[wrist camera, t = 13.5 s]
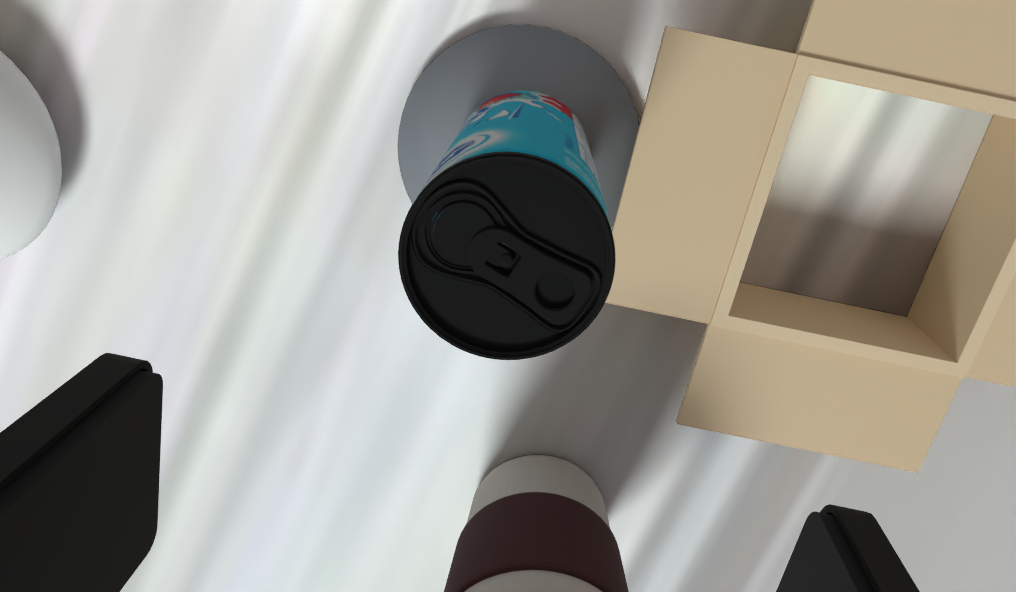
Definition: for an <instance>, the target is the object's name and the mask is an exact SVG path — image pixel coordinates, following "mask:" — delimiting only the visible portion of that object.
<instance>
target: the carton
mask: <svg viewBox="0 0 1016 592" xmlns="http://www.w3.org/2000/svg"><path fill="white" fill-rule="evenodd" d="M809 75H813V76H817V77H822V78H826V79H831V80H836V81H840V82H845V83H850V84H854V85H859V86H864V87H868V88H873V89H878V90H882V91H887V92H892V93H896V94H901V95H905V96H910V97H915V98H919V99H924V100H929V101H933V102H938V103H943V104H947V105H952V106H957V107H961V108H966V109H971V110H975V111H980V112H985V113H989V114H994V115H993V118H992V120H991V122H990V125H989V127H988V129H987V132H986V134H985V136H984V139H983V141H982V143H981V146H980V148H979V150H978V153H977V155H976V157H975V160H974V162H973V164H972V167H971V169H970V171H969V174H968V176H967V178H966V181H965V183H964V185H963V188H962V190H961V192H960V195H959V197H958V199H957V202H956V204H955V206H954V208H953V211H952V213H951V215H950V218H949V220H948V222H947V225H946V227H945V229H944V232H943V234H942V236H941V239H940V241H939V243H938V246H937V248H936V250H935V253H934V255H933V257H932V260H931V262H930V264H929V267H928V269H927V271H926V274H925V276H924V278H923V281H922V283H921V285H920V288H919V290H918V292H917V295H916V297H915V299H914V302H913V304H912V306H911V309H910V311H909V313H908V316H907V317H904V316H899V315H894V314H890V313H885V312H880V311H875V310H870V309H866V308H861V307H856V306H851V305H846V304H842V303H837V302H832V301H827V300H822V299H817V298H813V297H808V296H803V295H798V294H793V293H789V292H784V291H779V290H774V289H769V288H765V287H760V286H755V285H750V284H745V283H740V279H741V276H742V273H743V270H744V267H745V264H746V261H747V258H748V255H749V252H750V249H751V246H752V243H753V240H754V237H755V234H756V231H757V228H758V225H759V222H760V219H761V216H762V213H763V210H764V207H765V204H766V201H767V198H768V195H769V192H770V189H771V186H772V183H773V180H774V177H775V174H776V171H777V168H778V165H779V162H780V159H781V156H782V153H783V150H784V147H785V144H786V141H787V138H788V135H789V132H790V129H791V126H792V124H793V121H794V118H795V115H796V112H797V109H798V106H799V103H800V100H801V97H802V94H803V91H804V88H805V85H806V82H807V79H808V76H809ZM612 234H613V239H614V244H615V258H616V263H615V273H614V278H613V283H612V286H611V290H610V292H609V295H608V297H607V300H606V302H605V303H609V304H614V305H619V306H623V307H628V308H633V309H638V310H643V311H648V312H653V313H657V314H662V315H667V316H672V317H677V318H682V319H687V320H691V321H696V322H701V323H706V324H707V326H706V329H705V332H704V336H703V339H702V342H701V345H700V348H699V351H698V354H697V357H696V360H695V363H694V366H693V369H692V372H691V376H690V379H689V382H688V385H687V388H686V391H685V394H684V397H683V400H682V403H681V406H680V409H679V412H678V416H677V419H676V423H677V424H680V425H685V426H690V427H695V428H699V429H704V430H709V431H714V432H719V433H724V434H729V435H734V436H739V437H744V438H749V439H754V440H759V441H764V442H769V443H774V444H778V445H783V446H788V447H793V448H798V449H803V450H808V451H813V452H818V453H823V454H828V455H833V456H838V457H843V458H848V459H852V460H857V461H862V462H867V463H872V464H877V465H882V466H887V467H892V468H897V469H902V470H907V471H912V472H917V473H918V471H919V469H920V467H921V465H922V463H923V461H924V459H925V457H926V454H927V452H928V450H929V448H930V446H931V444H932V442H933V440H934V438H935V435H936V433H937V431H938V429H939V427H940V425H941V423H942V421H943V419H944V416H945V414H946V412H947V410H948V408H949V406H950V404H951V402H952V400H953V398H954V395H955V393H956V391H957V389H958V387H959V385H960V383H961V381H962V379H963V378H966V377H968V378H973V379H978V380H982V381H987V382H992V383H997V384H1002V385H1007V386H1012V387H1016V0H812V3H811V6H810V10H809V13H808V16H807V19H806V22H805V25H804V28H803V31H802V34H801V37H800V40H799V43H798V46H797V50H796V53H793V52H788V51H784V50H779V49H775V48H770V47H765V46H764V47H760V46H756V45H751V44H746V43H742V42H737V41H733V40H728V39H723V38H719V37H714V36H709V35H705V34H700V33H695V32H691V31H686V30H682V29H677V28H672V27H668V26H665V29H664V33H663V37H662V41H661V45H660V48H659V52H658V56H657V60H656V64H655V68H654V71H653V75H652V79H651V83H650V87H649V91H648V94H647V98H646V102H645V106H644V110H643V114H642V117H641V121H640V125H639V129H638V133H637V136H636V140H635V144H634V148H633V152H632V156H631V159H630V163H629V167H628V171H627V175H626V179H625V182H624V186H623V190H622V194H621V198H620V201H619V205H618V209H617V213H616V217H615V221H614V224H613V228H612Z"/></svg>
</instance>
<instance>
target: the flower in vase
mask: <svg viewBox="0 0 1016 592" xmlns="http://www.w3.org/2000/svg"><path fill="white" fill-rule="evenodd" d="M61 179H62V165H61V152H60V146H59V141H58V137H57V134H56V131H55V128H54V124H53V122H52V119H51V117H50V115H49V113H48V110H47V108H46V106H45V104H44V103H43V101H42V99H41V97H40V96H39V94H38V92H37V91H36V90H35V88H34V87H33V86H32V84H31V83H30V81H29V80H28V79H27V78H26V76H25V75H24V74H23V73H22V72H21V71H20V70H19V69H18V67H17V66H16V65H15V64H14V63H13V62H12V61H11V60H10V59H9V58H8V57H7V56H6V55H5V54H3V53H2V52H1V51H0V259H3V258H5V257H8V256H10V255H13V254H15V253H17V252H18V251H20V250H22V249H23V248H25V247H27V246H28V245H29V244H30V243H31V242H33V241H34V240H35V239H36V238H37V237H38V236H39V235H40V234H41V232H42V231H43V230H44V229H45V228H46V226H47V224H48V222H49V221H50V219H51V217H52V216H53V213H54V211H55V208H56V205H57V203H58V199H59V194H60V190H61Z"/></svg>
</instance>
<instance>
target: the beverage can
mask: <svg viewBox="0 0 1016 592" xmlns="http://www.w3.org/2000/svg"><path fill="white" fill-rule="evenodd" d="M398 258H399V270H400V275H401V280H402V283H403V286H404V289H405V292H406V294H407V296H408V299H409V301H410V302H411V304H412V306H413V308H414V309H415V311H416V312H417V314H418V315H419V316H420V318H421V319H422V320H423V321H424V323H425V324H426V325H427V326H428V327H429V328H430V329H431V330H433V331H434V332H435V333H436V334H437V335H438V336H439V337H441V338H442V339H444V340H445V341H447V342H448V343H450V344H452V345H453V346H455V347H457V348H459V349H461V350H464V351H466V352H468V353H471V354H474V355H477V356H481V357H486V358H491V359H499V360H519V359H527V358H532V357H537V356H540V355H543V354H546V353H549V352H552V351H554V350H556V349H558V348H560V347H562V346H564V345H566V344H567V343H569V342H570V341H572V340H573V339H575V338H576V337H577V336H579V335H580V334H581V333H582V332H583V331H584V330H585V329H586V328H587V327H588V326H589V325H590V324H591V323H592V321H593V320H594V319H595V318H596V317H597V315H598V314H599V312H600V310H601V309H602V307H603V305H604V303H605V302H606V300H607V297H608V295H609V292H610V290H611V286H612V283H613V278H614V273H615V263H616V258H615V244H614V239H613V234H612V230H611V227H610V222H609V218H608V214H607V210H606V206H605V202H604V198H603V195H602V191H601V187H600V183H599V180H598V176H597V173H596V169H595V166H594V162H593V159H592V155H591V152H590V148H589V143H588V140H587V137H586V134H585V131H584V129H583V127H582V125H581V124H580V122H579V120H578V119H577V117H576V116H575V115H574V114H573V113H572V112H571V111H570V110H569V109H568V108H567V107H566V106H565V105H564V104H562V103H561V102H559V101H558V100H556V99H555V98H553V97H551V96H548V95H545V94H542V93H540V92H534V91H526V90H520V91H510V92H506V93H503V94H500V95H497V96H494V97H493V98H491V99H489V100H487V101H486V102H484V103H482V104H481V105H480V106H479V107H478V108H477V109H476V110H475V111H474V112H473V113H472V114H471V115H470V116H469V118H468V119H467V121H466V122H465V124H464V125H463V127H462V129H461V131H460V132H459V134H458V135H457V137H456V138H455V140H454V141H453V143H452V144H451V146H450V147H449V149H448V150H447V152H446V153H445V155H444V156H443V158H442V159H441V161H440V162H439V164H438V165H437V167H436V168H435V170H434V172H433V173H432V175H431V176H430V178H429V179H428V181H427V183H426V184H425V186H424V187H423V189H422V191H421V192H420V194H419V195H418V197H417V198H416V200H415V201H414V203H413V204H412V206H411V208H410V210H409V212H408V214H407V216H406V219H405V221H404V224H403V227H402V231H401V235H400V241H399V251H398Z"/></svg>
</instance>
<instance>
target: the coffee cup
mask: <svg viewBox="0 0 1016 592" xmlns="http://www.w3.org/2000/svg"><path fill="white" fill-rule="evenodd" d="M444 592H628V587H627V583H626V579H625V574H624V570H623V565H622V561H621V556H620V552H619V548H618V545H617V542H616V540H615V537H614V535H613V533H612V532H611V530H610V527H609V522H608V517H607V513H606V508H605V504H604V500H603V497H602V494H601V492H600V490H599V488H598V486H597V485H596V484H595V482H594V481H593V480H592V478H591V477H590V476H589V475H588V474H587V473H585V472H584V471H583V470H582V469H581V468H579V467H578V466H576V465H575V464H573V463H570V462H568V461H566V460H563V459H560V458H557V457H553V456H545V455H528V456H522V457H518V458H514V459H511V460H509V461H506V462H504V463H502V464H501V465H499V466H497V467H496V468H495V469H493V470H492V471H491V472H490V473H489V474H488V475H487V476H486V477H485V478H484V479H483V481H482V482H481V483H480V485H479V487H478V489H477V491H476V493H475V495H474V498H473V502H472V506H471V510H470V513H469V517H468V521H467V524H466V526H465V527H464V529H463V531H462V533H461V535H460V537H459V540H458V543H457V546H456V550H455V553H454V557H453V561H452V564H451V568H450V572H449V575H448V579H447V583H446V586H445V590H444Z"/></svg>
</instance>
